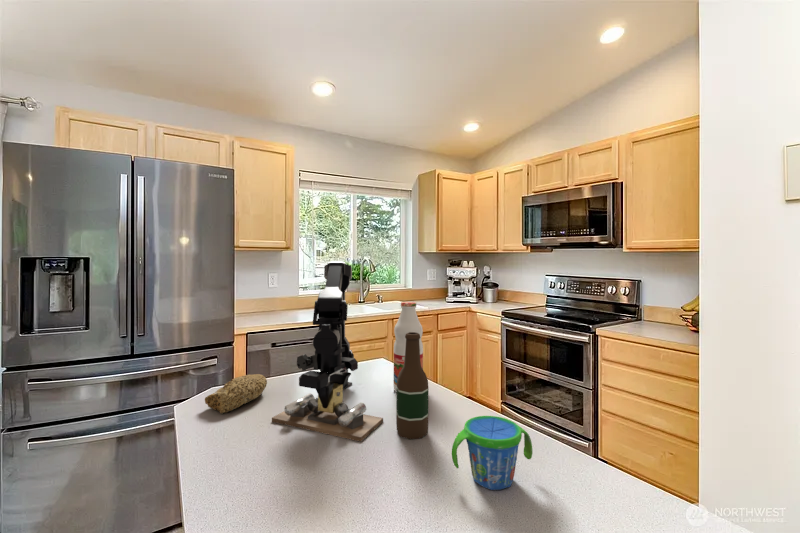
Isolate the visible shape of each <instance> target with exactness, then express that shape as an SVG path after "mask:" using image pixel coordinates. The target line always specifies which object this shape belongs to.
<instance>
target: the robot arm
mask: <svg viewBox="0 0 800 533" xmlns="http://www.w3.org/2000/svg"><path fill="white" fill-rule="evenodd" d="M323 271H324V272H323V275H324V279H325V280H326V281H325V286H324V289H323V290H322V291H320V292H318V296H317V300H315V301H314V307H313V316H312V325H313V326H318V331H317V332H316V334H315V335H314V337H313V339H312V346H313V348H314V354H310V355H307V354H301V355H298V356H296V367H297V368H298V369H300V370H301V371H302V372H304V373H302V374H301V375H300V376H299V377H298V386H299V387H303V388H310V389H314V390H315V391H316V393H317V397H318V396H319V398H320V401H321V404H322V407H323V408H327V407H328V403H329V400H330V396H331V392H332V388H333V384H334V383H337V384H343V390H345V389H347V388H348V387H350V386H352V385H353V382H351V381H349V378H350V376H352V373H351V372H354V371H356V370H358V368H359V365H358V364H359V363H358V361H357V359H356V358H355V354H354V353H353V351H352V349H351V344H350V342H349V340H348V339H347V337H346V321H348V308H349V306H348V304H347V301H346V291H347V289H348V288H349V286H350V284H351V280H352V278H353V268H352V265H350V264H347V263H345V262H344V261H329V262H327V264H325V265H324V269H323ZM309 369H313V370H309ZM306 370H309V371H306ZM349 370H350V372H349ZM305 371H306V372H305ZM331 382H332V383H331Z"/></svg>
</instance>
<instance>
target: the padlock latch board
mask: <svg viewBox="0 0 800 533" xmlns="http://www.w3.org/2000/svg"><path fill="white" fill-rule="evenodd" d="M350 409H351V408H349V410H350ZM338 419H339V417H337V415H336V414H335V412H334V413H328V412H323V411H318V412H316V413H313V412H311V411H310V410H309V408H308V403H307V404H305V405H304V406H302V407H300V410H299V411H297V412H296V413H294V414H292V415H290V416H288V415H287V414H286V413H285V411H281V412H280V413H278V414H276V415H274V416H273V417H271V422H272V423H277V424H281V425H285V426H290V427H293V428H298V429H303V430H307V431H311V432H317V433H321V434H325V435H330V436H334V437H338V438H343V439H347V440H353V441H356V442H362V441H364V440H365V438H367V437H369V435H370V434H371V433H373V431H374V430H376V429H377V428H378V427H379V426H380V425H382V423H384V417H380V416H376V415H375V416H374V415H370V414H366V413H365V414H364V413H363V414H361V413H360V414H359V415H358V416H356V417H355V418H354V419H353V420H352V422H351V423H350V424H348V425H347V426H346V427H342V426H340V425H339V423H338Z"/></svg>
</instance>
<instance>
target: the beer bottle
mask: <svg viewBox="0 0 800 533" xmlns="http://www.w3.org/2000/svg"><path fill="white" fill-rule="evenodd" d="M405 338H406V348H405V361H404V366H403V368H402V369H401V371H400V372H399V375H398V378H397V392H396V393H395V394H396V400H395V401H396V421H395V422H396V423H395V424H396V431H397V434H398V436H399V437H400V438H403V439H406V440H417V439H418V440H420V439H419V438H421V439H423V438H424V437H425V436H427V434H428V432H429V380H428V376H427V374H426V372H425V370H424V368H423V369H422V367H421V362H420V346H419V339H420V334H419V333H416V332H409V333H406V335H405ZM423 436H424V437H423Z"/></svg>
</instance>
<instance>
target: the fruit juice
mask: <svg viewBox="0 0 800 533" xmlns="http://www.w3.org/2000/svg"><path fill="white" fill-rule="evenodd" d="M400 308H401V311H400V314H399V317H398V319H397V322H396V323H395V326H394V329H393V330H394V331H393V332H394V337H395V341H394V343H393V389H394V391H395V392H396V393H397V378H398V375H399V372H400V371H401V369H402V368H403V366H404V361H405V348H406V338H405V335H406V333H409V332H416V333H419V334H420V339H419V346H420V362H421V367H422V369H423V370H424V345H423V344H424V343H423V341H422V338H423V333H424V331H423V328H424V327H423V325H422V324H421V322H420V319H419V317H418V314H417V313H418V312H417V311H416V308H417V302H415V301H402V302H400Z"/></svg>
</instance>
